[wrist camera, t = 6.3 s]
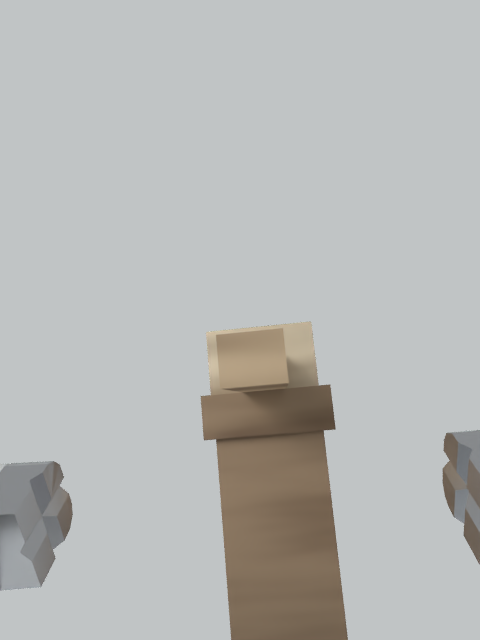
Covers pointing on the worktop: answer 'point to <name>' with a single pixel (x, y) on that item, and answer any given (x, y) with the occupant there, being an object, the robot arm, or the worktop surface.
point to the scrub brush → (261, 358)
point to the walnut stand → (277, 513)
